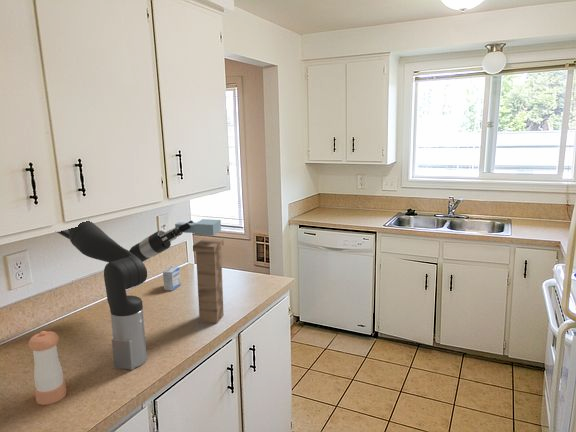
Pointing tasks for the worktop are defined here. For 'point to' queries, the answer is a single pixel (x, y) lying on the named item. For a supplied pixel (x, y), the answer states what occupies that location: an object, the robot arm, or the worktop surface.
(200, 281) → the walnut stand
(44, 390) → the salt shaker
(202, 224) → the blue-grey stepped block
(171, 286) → the medicine box
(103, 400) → the worktop surface
